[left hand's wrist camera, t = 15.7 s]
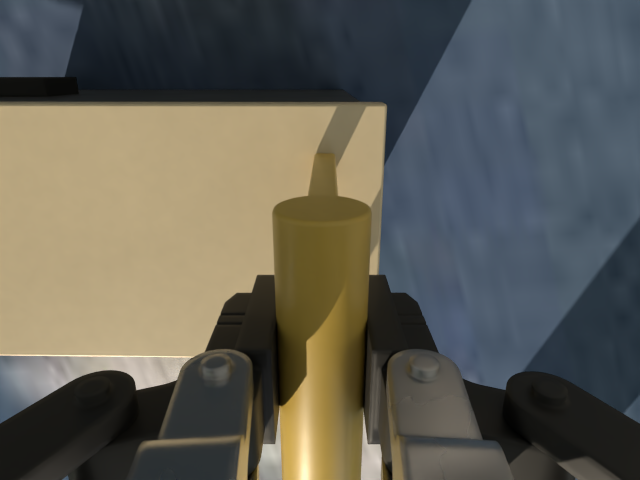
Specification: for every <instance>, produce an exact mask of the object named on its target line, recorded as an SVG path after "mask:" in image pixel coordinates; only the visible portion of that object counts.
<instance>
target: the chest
mask: <svg viewBox="0 0 640 480" xmlns="http://www.w3.org/2000/svg"><path fill="white" fill-rule="evenodd" d="M78 91H79V94H70V95H60V96H49V97H0V102H360V101H358V100H357V99H356V98H354V97H353V96H351V95H350V94H348V93H347V92H346V91H344V90H78Z"/></svg>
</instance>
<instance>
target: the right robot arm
mask: <svg viewBox="0 0 640 480" xmlns="http://www.w3.org/2000/svg"><path fill="white" fill-rule="evenodd" d="M70 94H79V91H78V85H77V80H76V77H0V97H49V96H60V95H70Z"/></svg>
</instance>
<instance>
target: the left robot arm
mask: <svg viewBox="0 0 640 480" xmlns="http://www.w3.org/2000/svg"><path fill="white" fill-rule="evenodd" d="M220 314H221V315H220V316H219V318H218V321H217V325H215V328H214V330H213V333H212V335H211V338H210V340H209V342H208V345H207V347H206V350H205V352H203V353H201V354H198V355H196V356H194V357H193V358H191V359H190V360H188V361H187V362H186V363H185V364H184V365H183V367H182V368H181V370H180V373H179V376H178V379H177V380H176V381H174V382H171V383H168V384H164V385H160V386H155V387H150V388H145V389H141V390H136V386H135V381H134V379H133V378H132V377H131V376H130V375H129V374H127V373H124V372H121V371H114V370H108V371H99V372H94V373H90V374H87V375H84V376H81V377H79V378H77V379H75V380H73V381H71V382H69V383H68V384H66V385H64V386H63V387H61V388H59V389H58V390H56V391H54V392H53V393H51V394H49V395H48V396H46V397H44V398H43V399H41V400H39V401H38V402H36V403H34V404H32V405H31V406H29V407H27V408H26V409H24V410H22V411H21V412H19V413H17V414H16V415H14V416H12V417H11V418H9V419H7V420H6V421H4V422H2V423H1V424H0V480H62V479H63V478H65V477H66V476H67V475H68V478H69V480H259V461H260V458H261V453H262V446H263V444H275V440H276V432H277V423H278V415H279V407H280V399H279V374H278V348H277V322H276V303H275V278H274V275H257V277H256V280H255V283H254V287H253V290H252V293H236V294H235V295H233V296H232V297H231V298H230V299H228V300H227V301H226V302H225V304H224V306H223V308H222V311H221V313H220ZM363 409H364V417H365V425H366V433H367V441H368V444H380V445H381V451H382V464H381V480H575V478H577V479H578V480H640V424H639V423H638V422H636V421H634V420H633V419H631V418H629V417H628V416H626V415H624V414H623V413H621V412H619V411H618V410H616V409H614V408H613V407H611V406H609V405H608V404H606V403H604V402H603V401H601V400H599V399H597V398H596V397H594V396H592V395H591V394H589V393H587V392H586V391H584V390H582V389H581V388H579V387H577V386H576V385H574V384H572V383H571V382H569V381H567V380H565V379H562V378H560V377H558V376H555V375H551V374H547V373H542V372H533V371H530V372H521V373H518V374H515V375H513V376H512V377H511V378H510V379H509V380H508V382H507V386H506V390H502V389H497V388H493V387H488V386H483V385H479V384H475V383H472V382H469V381H467V380H465V379H462V376H461V373H460V370H459V368H458V367H457V365H456V364H455V363H454V362H453V361H452V360H450V359H449V358H447V357H446V356H444V355H442V354H439V352H438V350H437V347H436V345H435V343H434V340H433V338H432V336H431V333H430V331H429V328H428V326H427V325H426V321H425V319H424V317H423V316H422V312H421V310H420V307H419V305H418V302H416V301H415V300H414V299H413V298H411V297H410V296H409V295H408V294H406V293H391V291H390V288H389V285H388V282H387V279H386V276H385V275H369V293H368V317H367V328H366V352H365V376H364V400H363Z"/></svg>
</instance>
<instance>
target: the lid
mask: <svg viewBox="0 0 640 480" xmlns="http://www.w3.org/2000/svg"><path fill="white" fill-rule="evenodd" d="M386 116H387V105H386V104H384V103H382V102H0V355H19V356H113V357H194V356H196V355H198V354H201V353H203V352H205V350H206V347H207V345H208V342H209V340H210V338H211V335H212V333H213V330H214V328H215V325H217V321H218V318H219V316H220V315H221V314H220V313H221V311H222V308H223V306H224V304H225V302H226V301H227V300H228V299H230V298H231V297H232V296H233V295H235V294H236V293H252V290H253V287H254V283H255V280H256V277H257V275H274V278H275V303H276V322H277V348H278V374H279V399H280V431H281V457H282V480H361V460H362V436H363V412H364V409H363V400H364V376H365V352H366V328H367V317H368V293H369V275H379V256H380V236H381V216H382V196H383V176H384V156H385V136H386Z"/></svg>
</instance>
